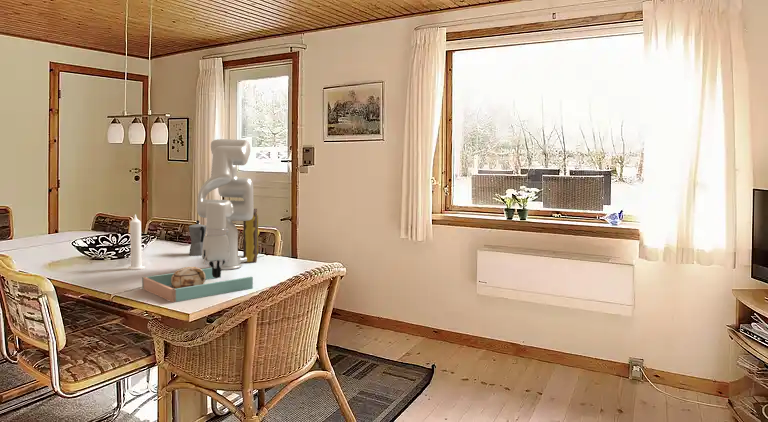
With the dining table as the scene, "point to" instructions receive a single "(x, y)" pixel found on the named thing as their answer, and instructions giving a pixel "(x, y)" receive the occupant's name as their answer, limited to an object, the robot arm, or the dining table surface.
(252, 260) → the book
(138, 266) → the candle
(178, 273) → the trinket box
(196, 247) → the coffeepot
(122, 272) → the dining table surface
